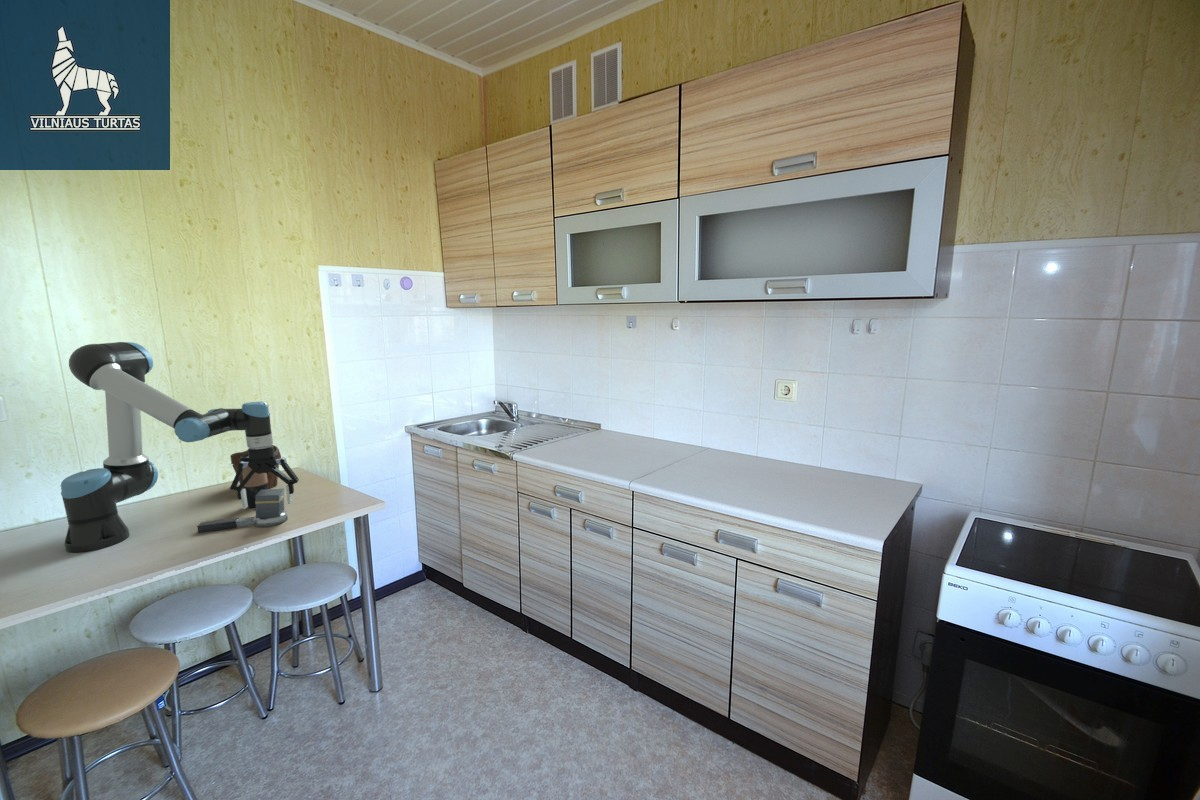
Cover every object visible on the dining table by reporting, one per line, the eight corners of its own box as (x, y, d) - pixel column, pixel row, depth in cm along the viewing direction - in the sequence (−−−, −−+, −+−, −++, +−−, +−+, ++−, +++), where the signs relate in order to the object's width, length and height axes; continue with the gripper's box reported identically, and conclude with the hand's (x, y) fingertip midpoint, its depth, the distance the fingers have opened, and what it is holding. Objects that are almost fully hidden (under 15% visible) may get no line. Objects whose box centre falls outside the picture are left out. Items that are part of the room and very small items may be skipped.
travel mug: (275, 501, 201) (268, 452, 198) (260, 509, 194) (253, 458, 191) (257, 501, 202) (250, 452, 199) (242, 508, 195) (234, 458, 191)
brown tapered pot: (281, 476, 234) (275, 438, 230) (288, 487, 218) (282, 446, 215) (233, 486, 223) (226, 446, 219) (238, 498, 207) (230, 455, 204)
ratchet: (194, 537, 170) (190, 515, 169) (206, 525, 179) (202, 505, 178) (283, 524, 178) (281, 504, 177) (290, 514, 188) (288, 495, 186)
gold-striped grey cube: (255, 518, 176) (255, 495, 175) (261, 511, 183) (261, 489, 182) (279, 517, 179) (279, 495, 178) (284, 510, 185) (284, 488, 184)
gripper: (213, 453, 169) (222, 513, 173) (299, 445, 177) (305, 504, 181) (221, 447, 176) (229, 506, 180) (303, 440, 184) (309, 497, 188)
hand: (267, 505), depth 180 cm, fingers open, 13 cm apart
